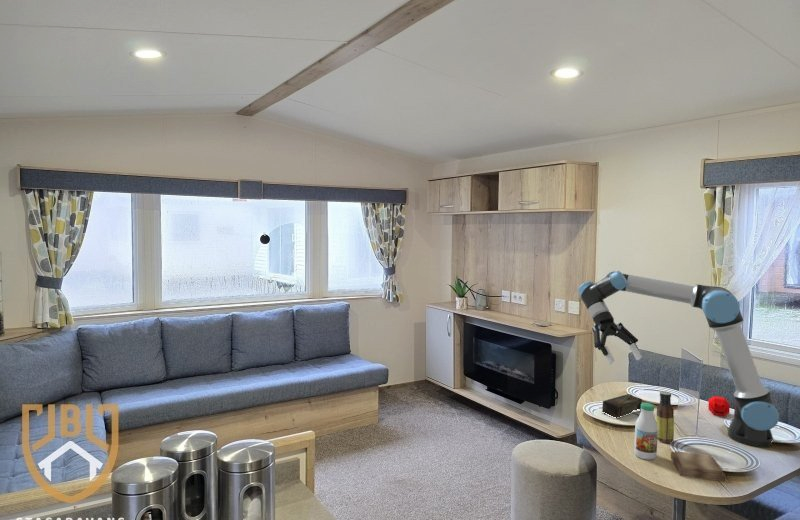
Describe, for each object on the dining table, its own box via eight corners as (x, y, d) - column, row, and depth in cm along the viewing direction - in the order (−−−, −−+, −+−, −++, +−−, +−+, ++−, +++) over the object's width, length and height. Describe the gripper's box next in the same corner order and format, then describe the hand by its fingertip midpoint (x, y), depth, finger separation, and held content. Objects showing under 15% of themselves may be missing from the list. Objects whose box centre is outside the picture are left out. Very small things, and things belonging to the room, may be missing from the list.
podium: (712, 462, 190) (712, 454, 190) (725, 481, 176) (725, 472, 176) (670, 457, 194) (670, 449, 193) (680, 475, 180) (680, 467, 180)
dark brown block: (642, 411, 238) (643, 397, 238) (616, 420, 228) (616, 405, 228) (627, 405, 245) (627, 392, 245) (601, 414, 235) (601, 400, 235)
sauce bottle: (671, 438, 210) (673, 390, 208) (675, 444, 204) (677, 396, 202) (653, 436, 212) (656, 389, 210) (657, 442, 206) (659, 394, 204)
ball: (708, 415, 233) (709, 399, 232) (707, 409, 240) (708, 393, 239) (729, 419, 229) (730, 402, 228) (728, 413, 236) (729, 396, 235)
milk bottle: (629, 452, 197) (631, 402, 195) (644, 449, 200) (647, 399, 198) (645, 461, 190) (647, 409, 188) (661, 458, 193) (663, 406, 191)
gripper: (619, 318, 221) (645, 362, 209) (571, 322, 213) (595, 368, 200) (629, 308, 216) (656, 353, 203) (581, 312, 208) (605, 358, 195)
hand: (626, 360), depth 202 cm, fingers open, 13 cm apart
